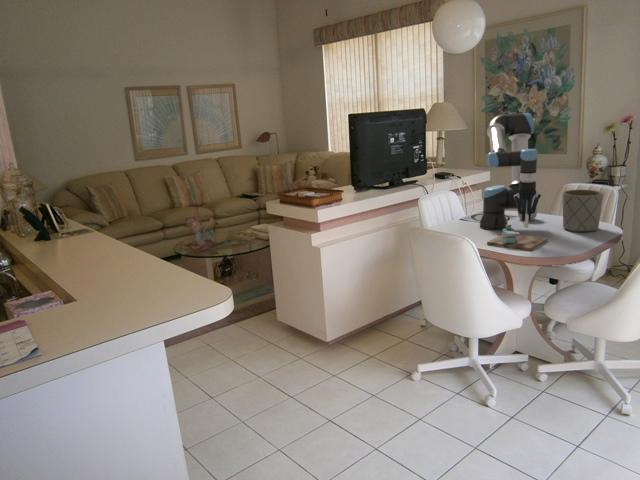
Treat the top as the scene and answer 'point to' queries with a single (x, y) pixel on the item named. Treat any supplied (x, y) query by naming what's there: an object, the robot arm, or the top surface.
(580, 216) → the planter
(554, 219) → the top surface
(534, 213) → the teacup
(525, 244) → the pivot board
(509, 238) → the latch bar
